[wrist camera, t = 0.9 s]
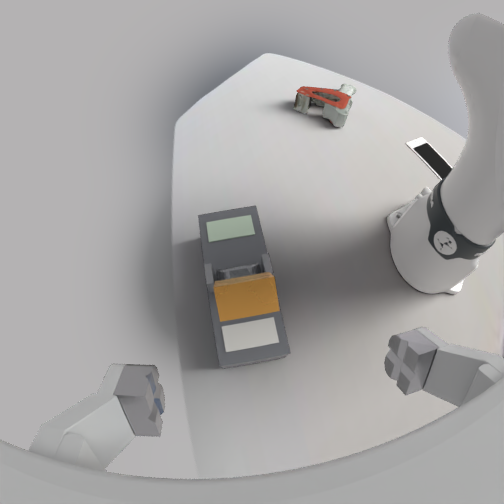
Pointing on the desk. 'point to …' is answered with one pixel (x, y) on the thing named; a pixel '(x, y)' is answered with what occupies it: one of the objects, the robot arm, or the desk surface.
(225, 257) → the block
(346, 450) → the desk surface
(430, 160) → the cell phone
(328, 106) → the tape dispenser
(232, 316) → the lever
